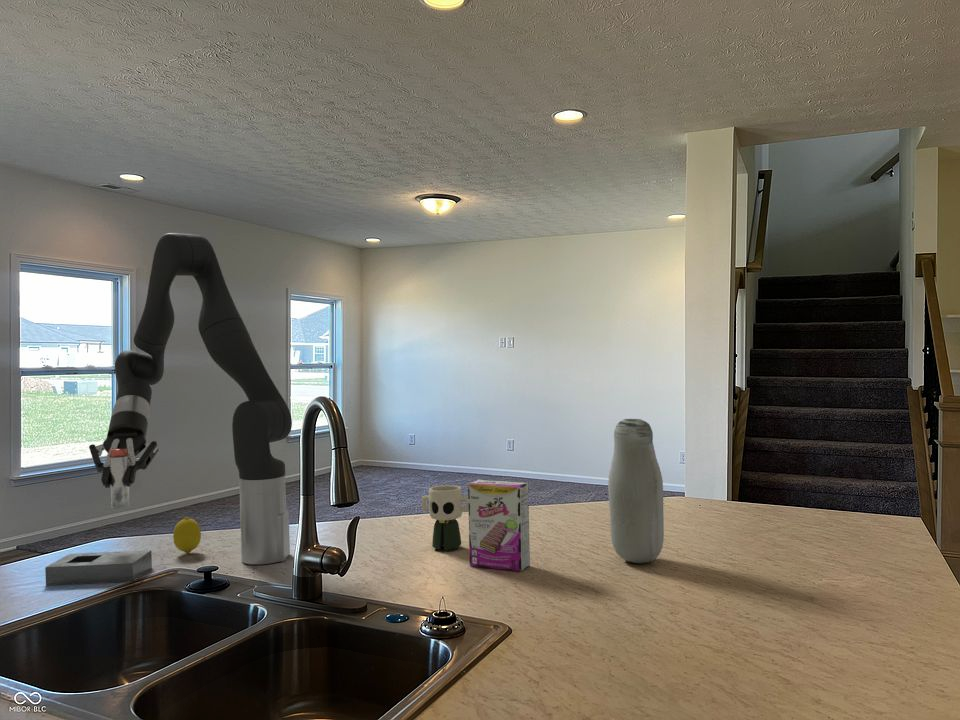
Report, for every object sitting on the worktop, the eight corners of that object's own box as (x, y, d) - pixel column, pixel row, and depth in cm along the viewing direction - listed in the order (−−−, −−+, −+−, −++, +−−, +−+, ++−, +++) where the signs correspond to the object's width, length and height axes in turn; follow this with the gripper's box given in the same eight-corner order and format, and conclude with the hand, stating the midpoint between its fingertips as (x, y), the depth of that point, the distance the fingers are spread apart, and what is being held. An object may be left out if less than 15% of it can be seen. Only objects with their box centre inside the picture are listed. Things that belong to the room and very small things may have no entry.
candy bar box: (468, 567, 140) (466, 483, 140) (479, 560, 144) (477, 478, 144) (521, 573, 135) (519, 486, 135) (531, 565, 140) (529, 481, 140)
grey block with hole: (151, 567, 146) (151, 550, 146) (133, 581, 136) (132, 563, 136) (70, 571, 144) (69, 553, 144) (45, 585, 135) (45, 567, 135)
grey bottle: (672, 559, 141) (669, 417, 141) (646, 572, 134) (642, 422, 133) (629, 551, 148) (625, 415, 148) (601, 562, 140) (597, 419, 140)
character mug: (417, 551, 152) (415, 490, 152) (428, 542, 159) (426, 484, 159) (466, 554, 149) (464, 491, 149) (475, 545, 156) (474, 485, 156)
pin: (132, 504, 150) (130, 447, 150) (125, 508, 147) (123, 450, 147) (115, 505, 150) (113, 448, 150) (108, 509, 147) (106, 450, 147)
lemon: (191, 557, 152) (190, 520, 152) (168, 557, 153) (167, 519, 153) (206, 550, 157) (205, 514, 157) (184, 550, 158) (182, 514, 158)
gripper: (90, 411, 154) (74, 476, 142) (161, 407, 157) (151, 471, 146) (98, 433, 159) (83, 498, 148) (166, 429, 163) (157, 493, 151)
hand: (117, 484), depth 147 cm, fingers closed on pin, 3 cm apart
